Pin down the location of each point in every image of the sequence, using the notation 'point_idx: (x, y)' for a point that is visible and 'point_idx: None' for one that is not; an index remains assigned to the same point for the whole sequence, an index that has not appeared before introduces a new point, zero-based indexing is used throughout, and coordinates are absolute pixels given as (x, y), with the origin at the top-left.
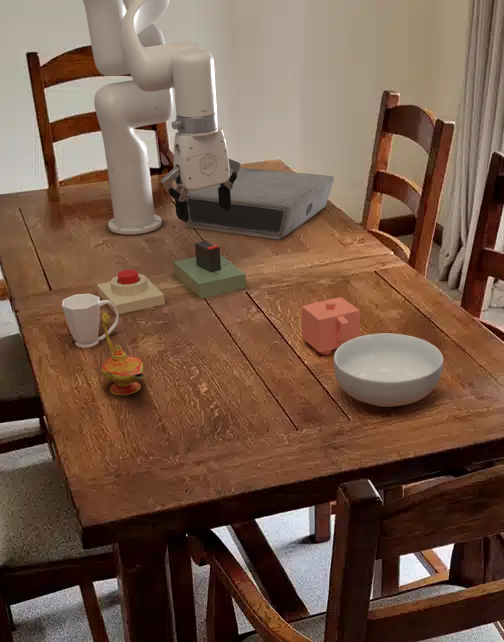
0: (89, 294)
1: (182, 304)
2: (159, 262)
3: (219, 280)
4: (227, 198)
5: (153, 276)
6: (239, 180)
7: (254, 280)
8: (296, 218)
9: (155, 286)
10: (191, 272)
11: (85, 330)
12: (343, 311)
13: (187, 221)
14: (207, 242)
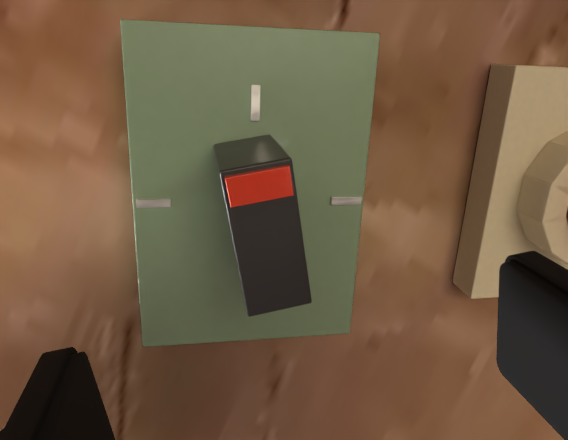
0: None
1: (441, 20)
2: (324, 429)
3: (272, 27)
4: (35, 438)
5: (396, 329)
6: None
7: (59, 91)
8: None
9: (497, 166)
10: (343, 188)
11: None
12: None
13: (507, 259)
14: (248, 280)
